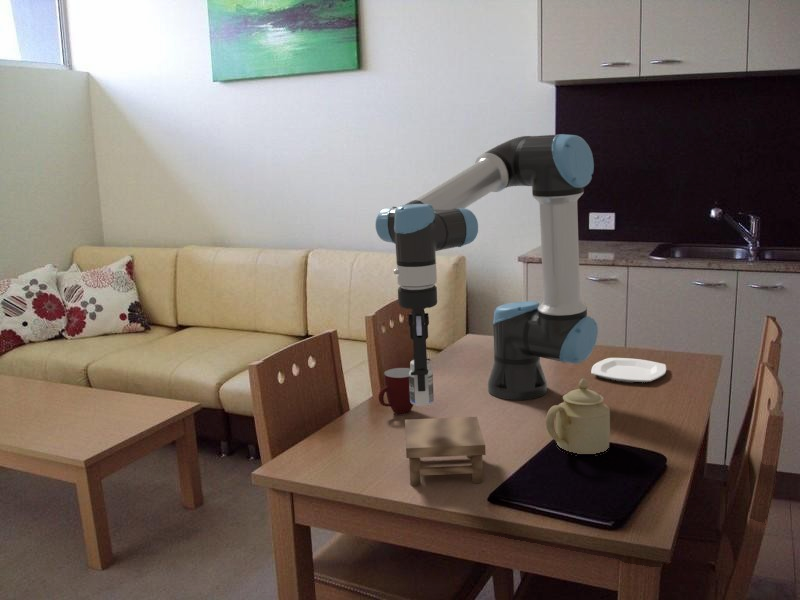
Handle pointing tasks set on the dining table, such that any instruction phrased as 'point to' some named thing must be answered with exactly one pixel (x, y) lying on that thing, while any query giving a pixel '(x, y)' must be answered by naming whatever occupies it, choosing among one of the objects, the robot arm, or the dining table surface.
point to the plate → (628, 369)
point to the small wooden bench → (444, 445)
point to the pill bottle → (430, 383)
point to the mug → (397, 390)
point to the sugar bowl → (580, 422)
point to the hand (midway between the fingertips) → (422, 400)
